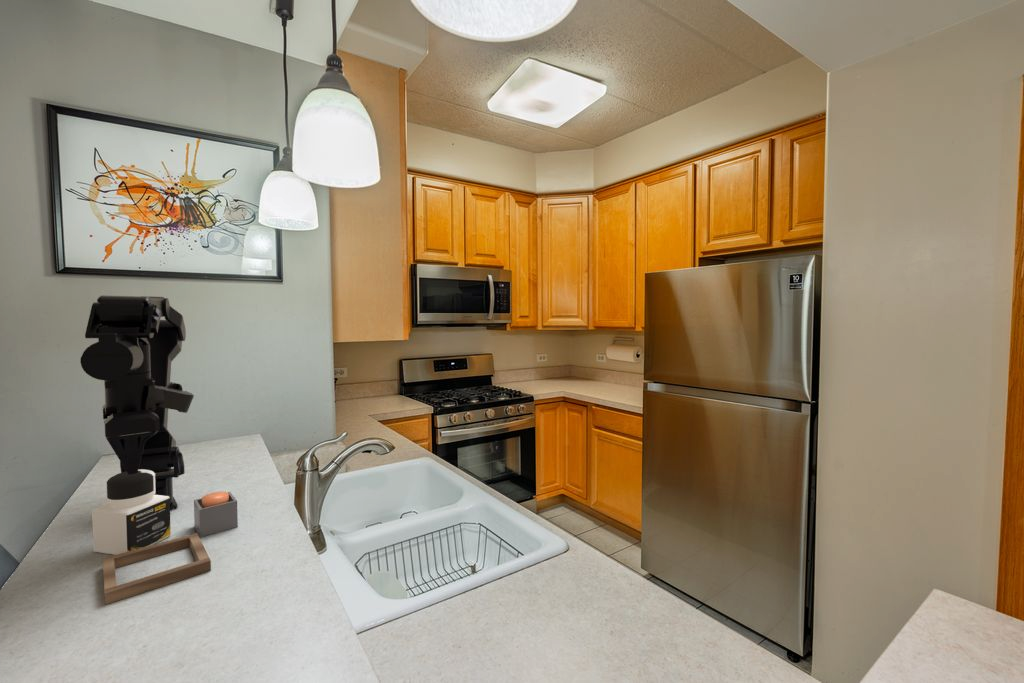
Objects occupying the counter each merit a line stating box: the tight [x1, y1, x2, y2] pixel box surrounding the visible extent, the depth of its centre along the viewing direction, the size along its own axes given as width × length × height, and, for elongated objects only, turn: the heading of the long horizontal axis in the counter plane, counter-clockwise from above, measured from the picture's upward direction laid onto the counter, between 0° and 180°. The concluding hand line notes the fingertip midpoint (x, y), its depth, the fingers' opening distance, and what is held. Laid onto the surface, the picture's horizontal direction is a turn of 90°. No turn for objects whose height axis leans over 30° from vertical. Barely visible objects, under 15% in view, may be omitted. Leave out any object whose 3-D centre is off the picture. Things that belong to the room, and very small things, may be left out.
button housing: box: [193, 491, 239, 538], centre depth 79 cm, size 6×6×5 cm
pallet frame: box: [102, 532, 212, 605], centre depth 65 cm, size 12×12×2 cm
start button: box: [201, 491, 229, 508], centre depth 79 cm, size 4×4×2 cm
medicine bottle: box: [91, 469, 172, 556], centre depth 72 cm, size 7×7×12 cm
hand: (131, 467), depth 72 cm, fingers open, 8 cm apart
